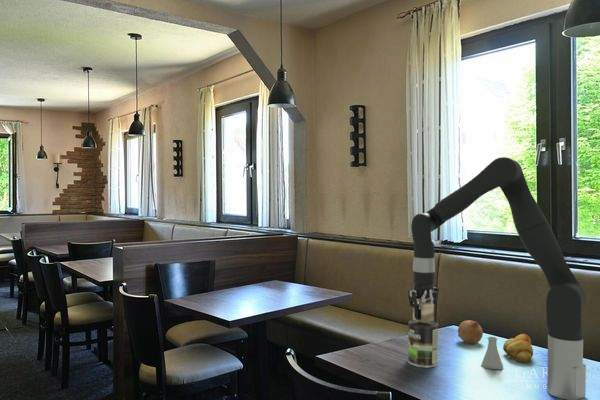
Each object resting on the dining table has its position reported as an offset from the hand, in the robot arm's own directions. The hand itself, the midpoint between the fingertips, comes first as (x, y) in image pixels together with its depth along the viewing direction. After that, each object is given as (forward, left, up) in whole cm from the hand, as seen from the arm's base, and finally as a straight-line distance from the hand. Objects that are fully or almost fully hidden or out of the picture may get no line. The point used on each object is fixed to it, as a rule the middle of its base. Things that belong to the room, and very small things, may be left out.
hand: (423, 318), depth 172 cm
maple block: (0, 0, -1) cm, 1 cm away
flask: (-16, -17, -16) cm, 28 cm away
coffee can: (0, 0, -16) cm, 16 cm away
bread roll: (-16, -33, -16) cm, 40 cm away
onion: (+5, -34, -16) cm, 38 cm away
